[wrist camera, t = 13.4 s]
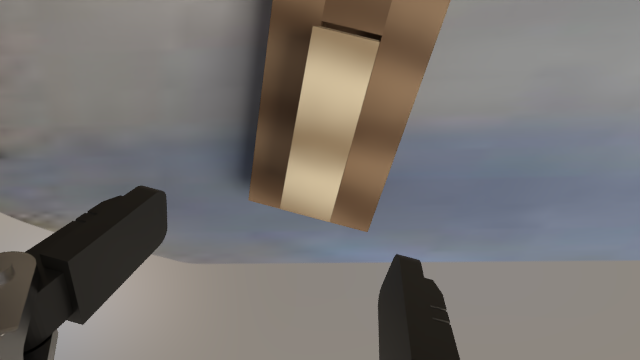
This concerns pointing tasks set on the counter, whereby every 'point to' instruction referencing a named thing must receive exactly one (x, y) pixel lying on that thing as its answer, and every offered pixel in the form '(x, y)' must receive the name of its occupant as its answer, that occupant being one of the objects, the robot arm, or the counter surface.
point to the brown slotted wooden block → (379, 102)
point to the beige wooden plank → (326, 119)
